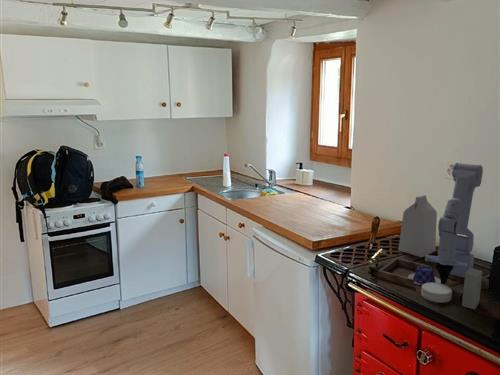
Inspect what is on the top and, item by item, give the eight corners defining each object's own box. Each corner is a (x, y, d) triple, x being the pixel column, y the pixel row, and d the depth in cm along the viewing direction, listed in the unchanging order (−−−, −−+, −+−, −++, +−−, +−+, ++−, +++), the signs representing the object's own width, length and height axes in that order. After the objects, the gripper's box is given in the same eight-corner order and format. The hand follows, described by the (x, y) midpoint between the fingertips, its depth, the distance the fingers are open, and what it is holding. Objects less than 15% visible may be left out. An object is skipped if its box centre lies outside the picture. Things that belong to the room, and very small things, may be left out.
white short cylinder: (437, 305, 147) (438, 296, 147) (414, 294, 156) (415, 284, 155) (457, 299, 151) (458, 290, 151) (434, 288, 160) (435, 279, 160)
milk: (412, 244, 207) (416, 191, 202) (435, 251, 198) (440, 196, 193) (398, 250, 200) (402, 195, 194) (421, 257, 191) (426, 200, 185)
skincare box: (465, 299, 151) (469, 267, 149) (479, 303, 148) (483, 270, 146) (461, 306, 146) (464, 273, 144) (475, 309, 144) (478, 276, 141)
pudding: (400, 278, 169) (401, 266, 168) (421, 272, 175) (422, 260, 174) (426, 290, 159) (427, 277, 158) (447, 283, 165) (449, 270, 164)
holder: (429, 272, 174) (429, 265, 174) (412, 287, 161) (413, 280, 160) (395, 263, 183) (396, 257, 183) (377, 277, 170) (377, 270, 169)
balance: (378, 260, 187) (379, 246, 185) (387, 263, 184) (388, 248, 183) (364, 270, 177) (365, 254, 176) (374, 272, 174) (375, 257, 173)
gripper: (423, 247, 161) (420, 281, 164) (465, 256, 152) (461, 292, 155) (429, 242, 166) (426, 275, 169) (470, 250, 157) (466, 285, 160)
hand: (443, 282), depth 162 cm, fingers closed
